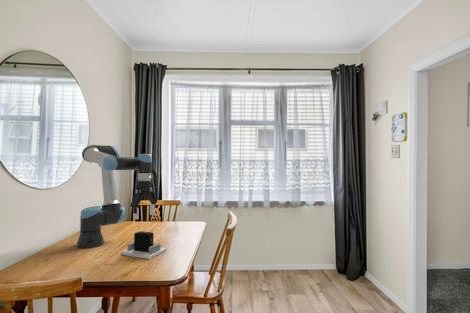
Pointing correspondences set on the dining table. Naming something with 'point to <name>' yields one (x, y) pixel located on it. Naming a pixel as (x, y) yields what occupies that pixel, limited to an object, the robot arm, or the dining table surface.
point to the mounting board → (152, 252)
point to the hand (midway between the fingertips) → (144, 217)
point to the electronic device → (143, 241)
